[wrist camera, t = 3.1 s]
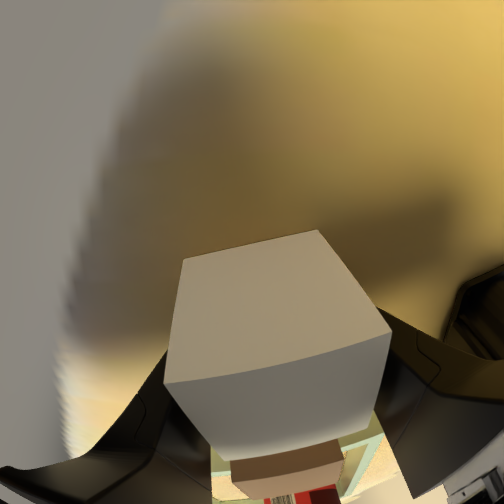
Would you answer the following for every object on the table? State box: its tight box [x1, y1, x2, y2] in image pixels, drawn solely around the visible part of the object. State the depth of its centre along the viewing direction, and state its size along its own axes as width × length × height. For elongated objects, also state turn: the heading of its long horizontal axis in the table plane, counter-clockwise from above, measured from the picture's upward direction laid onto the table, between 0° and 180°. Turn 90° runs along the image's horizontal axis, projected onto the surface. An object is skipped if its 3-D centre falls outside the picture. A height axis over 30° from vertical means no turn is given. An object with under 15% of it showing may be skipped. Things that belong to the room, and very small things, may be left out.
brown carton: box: [230, 439, 344, 500], centre depth 12 cm, size 4×4×5 cm
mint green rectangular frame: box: [211, 410, 385, 504], centre depth 19 cm, size 17×22×2 cm
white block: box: [163, 230, 392, 461], centre depth 8 cm, size 4×4×5 cm
